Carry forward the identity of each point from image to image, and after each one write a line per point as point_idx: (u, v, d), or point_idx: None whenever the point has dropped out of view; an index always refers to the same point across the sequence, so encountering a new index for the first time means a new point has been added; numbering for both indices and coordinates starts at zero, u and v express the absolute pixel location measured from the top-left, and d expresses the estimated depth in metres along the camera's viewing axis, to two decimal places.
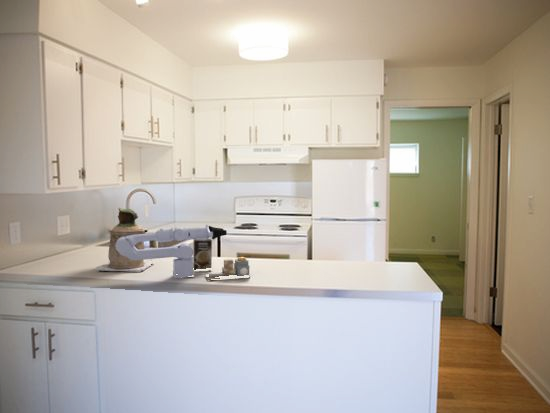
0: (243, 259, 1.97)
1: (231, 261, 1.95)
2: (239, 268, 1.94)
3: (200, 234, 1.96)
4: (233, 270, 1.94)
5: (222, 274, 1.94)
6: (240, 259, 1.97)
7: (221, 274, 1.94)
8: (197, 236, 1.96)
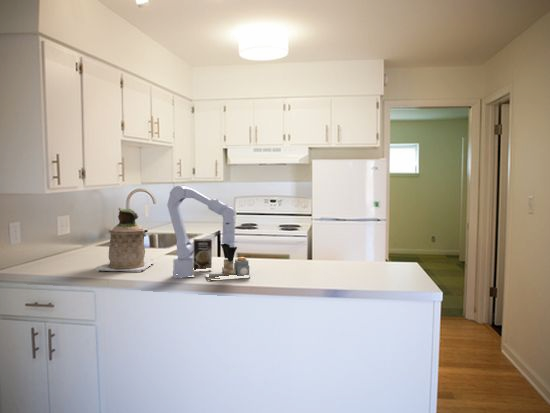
0: (243, 259, 1.97)
1: (231, 261, 1.95)
2: (239, 268, 1.94)
3: (229, 234, 1.93)
4: (233, 270, 1.94)
5: (222, 274, 1.94)
6: (240, 259, 1.97)
7: (221, 274, 1.94)
8: (225, 231, 1.93)
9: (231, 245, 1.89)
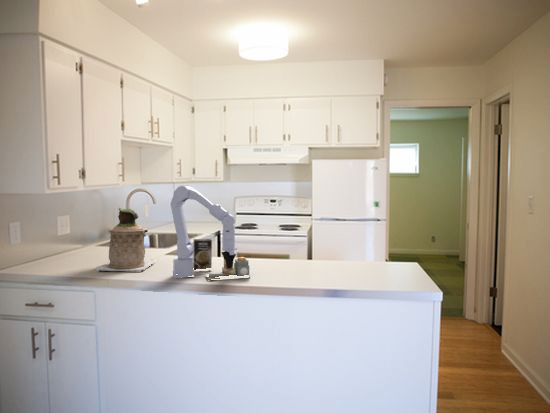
0: (243, 259, 1.97)
1: None
2: (239, 268, 1.94)
3: (229, 242, 1.93)
4: (233, 270, 1.94)
5: (222, 274, 1.94)
6: (240, 259, 1.97)
7: (221, 274, 1.94)
8: (225, 239, 1.93)
9: (231, 253, 1.89)
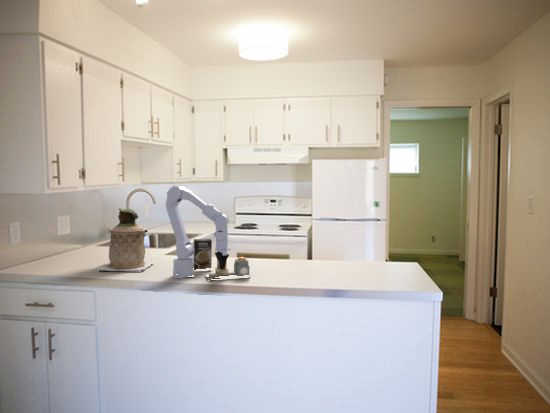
0: (243, 259, 1.97)
1: None
2: (239, 268, 1.94)
3: (222, 242, 1.92)
4: (226, 270, 1.93)
5: None
6: (240, 259, 1.97)
7: None
8: (217, 239, 1.92)
9: (224, 253, 1.88)
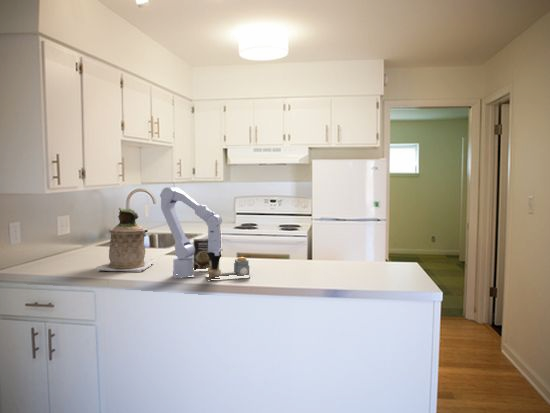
0: (243, 259, 1.97)
1: None
2: (239, 268, 1.94)
3: (214, 243, 1.91)
4: (219, 271, 1.92)
5: (222, 274, 1.94)
6: (240, 259, 1.97)
7: (221, 274, 1.94)
8: (209, 239, 1.91)
9: (216, 254, 1.87)
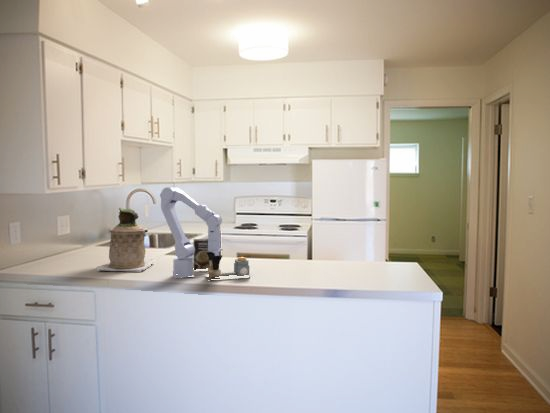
0: (243, 259, 1.97)
1: None
2: (239, 268, 1.94)
3: (214, 243, 1.91)
4: (219, 271, 1.92)
5: (222, 274, 1.94)
6: (240, 259, 1.97)
7: (221, 274, 1.94)
8: (209, 239, 1.91)
9: (216, 254, 1.87)
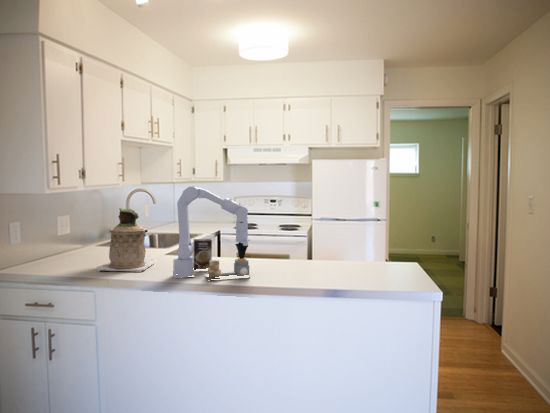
0: (243, 260, 1.97)
1: (217, 262, 1.93)
2: (239, 268, 1.94)
3: (242, 233, 1.95)
4: (219, 271, 1.92)
5: (222, 274, 1.94)
6: (240, 260, 1.97)
7: (221, 274, 1.94)
8: (238, 230, 1.95)
9: (245, 244, 1.91)
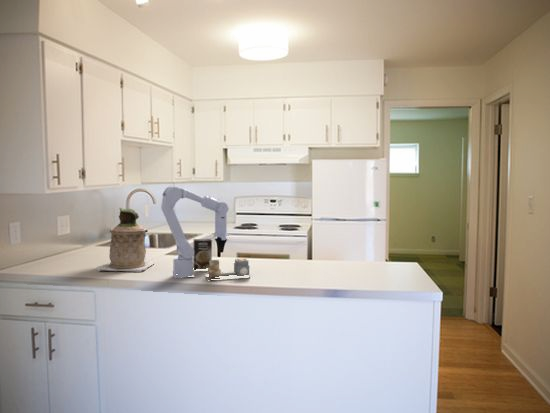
0: None
1: (217, 262, 1.93)
2: (239, 268, 1.94)
3: (221, 228, 2.02)
4: (219, 271, 1.92)
5: (222, 274, 1.94)
6: None
7: (221, 274, 1.94)
8: (220, 225, 2.02)
9: (223, 238, 1.98)
